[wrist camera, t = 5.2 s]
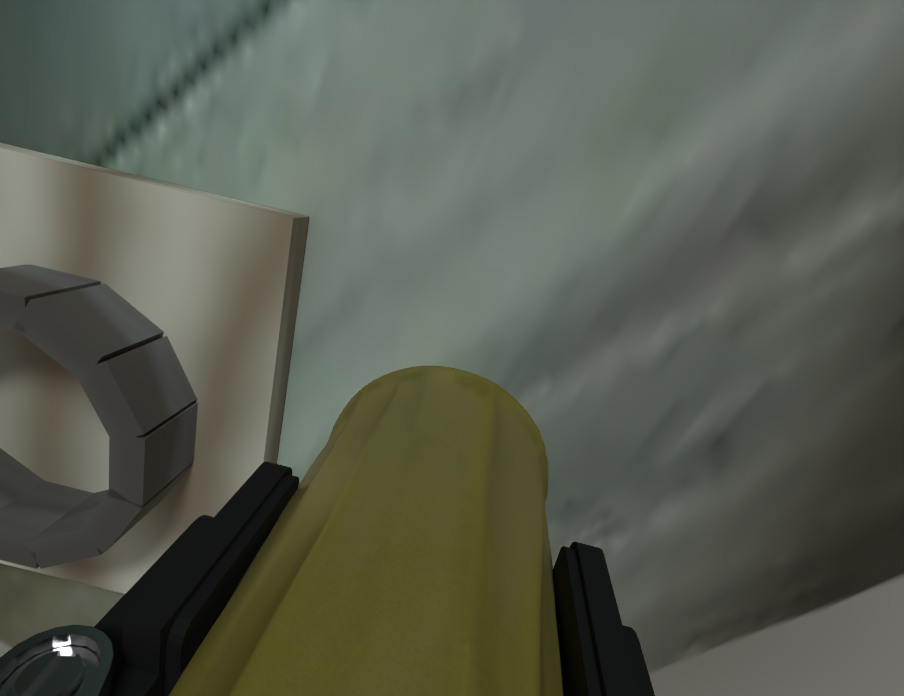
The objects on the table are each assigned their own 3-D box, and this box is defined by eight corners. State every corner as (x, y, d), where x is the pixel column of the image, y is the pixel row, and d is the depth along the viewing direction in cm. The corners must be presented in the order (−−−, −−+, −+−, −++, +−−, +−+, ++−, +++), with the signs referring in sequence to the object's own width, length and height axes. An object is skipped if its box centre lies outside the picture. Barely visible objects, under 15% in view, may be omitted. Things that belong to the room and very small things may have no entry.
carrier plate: (309, 216, 18) (250, 221, 14) (258, 597, 23) (205, 687, 19) (-112, 116, 18) (-301, 89, 14) (-65, 517, 23) (-190, 589, 19)
